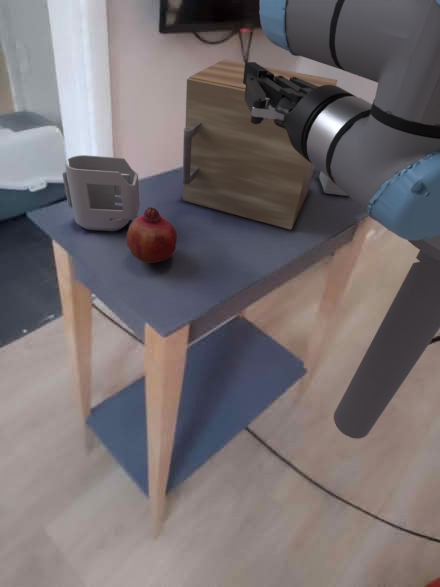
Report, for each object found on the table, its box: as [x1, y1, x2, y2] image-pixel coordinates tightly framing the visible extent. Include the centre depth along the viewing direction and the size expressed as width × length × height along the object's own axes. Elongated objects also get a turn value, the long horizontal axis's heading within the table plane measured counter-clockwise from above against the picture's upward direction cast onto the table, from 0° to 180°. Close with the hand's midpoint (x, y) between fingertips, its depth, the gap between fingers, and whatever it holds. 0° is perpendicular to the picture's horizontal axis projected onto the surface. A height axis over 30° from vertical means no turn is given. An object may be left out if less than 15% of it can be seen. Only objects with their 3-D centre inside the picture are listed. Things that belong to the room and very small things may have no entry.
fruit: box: [125, 206, 178, 264], centre depth 64 cm, size 8×8×10 cm
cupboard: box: [188, 58, 338, 228], centre depth 80 cm, size 18×24×24 cm
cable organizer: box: [62, 154, 141, 232], centre depth 70 cm, size 7×12×12 cm, turn 93°
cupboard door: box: [181, 77, 309, 231], centre depth 71 cm, size 6×24×23 cm, turn 70°
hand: (248, 72), depth 57 cm, fingers closed
